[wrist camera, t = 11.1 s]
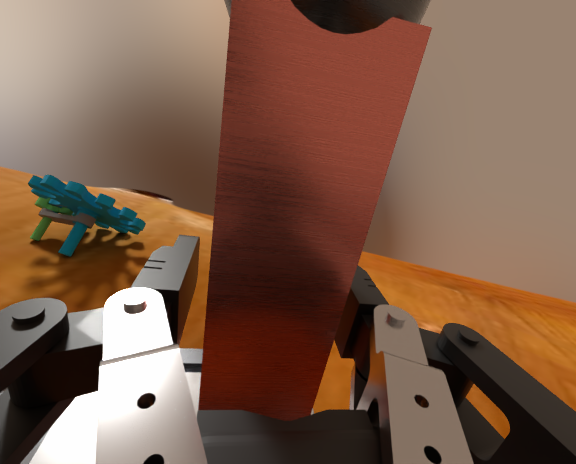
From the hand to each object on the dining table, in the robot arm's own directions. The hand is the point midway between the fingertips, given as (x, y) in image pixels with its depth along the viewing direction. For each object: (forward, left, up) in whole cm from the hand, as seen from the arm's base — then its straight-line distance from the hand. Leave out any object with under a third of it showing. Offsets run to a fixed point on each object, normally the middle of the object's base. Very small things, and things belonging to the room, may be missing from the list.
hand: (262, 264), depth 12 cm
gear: (-2, +24, -10) cm, 27 cm away
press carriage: (-3, -1, -8) cm, 9 cm away
